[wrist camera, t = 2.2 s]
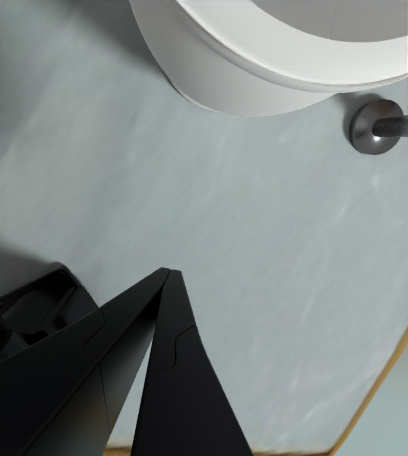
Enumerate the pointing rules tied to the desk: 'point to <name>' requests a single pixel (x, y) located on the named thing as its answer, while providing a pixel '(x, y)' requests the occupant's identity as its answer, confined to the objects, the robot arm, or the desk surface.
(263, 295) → the desk surface
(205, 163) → the desk surface
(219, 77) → the jar
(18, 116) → the desk surface
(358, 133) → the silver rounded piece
